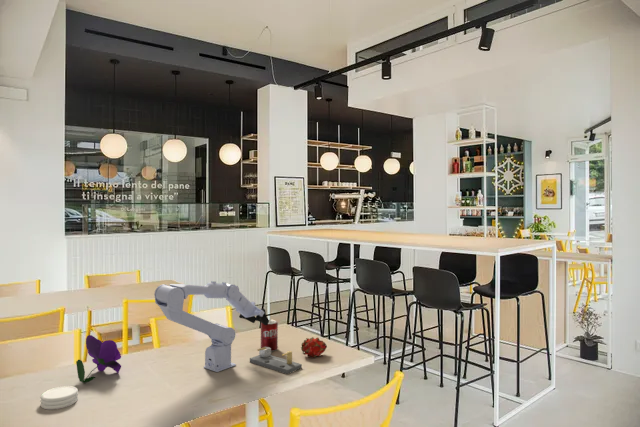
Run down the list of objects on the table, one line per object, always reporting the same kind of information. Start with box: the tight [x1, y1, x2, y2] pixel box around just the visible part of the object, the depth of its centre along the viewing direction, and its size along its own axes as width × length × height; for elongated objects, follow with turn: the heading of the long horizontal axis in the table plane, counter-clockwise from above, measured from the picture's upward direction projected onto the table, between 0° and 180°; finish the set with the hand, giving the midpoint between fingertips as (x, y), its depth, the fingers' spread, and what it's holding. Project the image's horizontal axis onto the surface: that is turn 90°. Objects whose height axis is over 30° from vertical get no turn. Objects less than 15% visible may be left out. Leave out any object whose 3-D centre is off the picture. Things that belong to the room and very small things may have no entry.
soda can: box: [260, 319, 279, 353], centre depth 189 cm, size 7×7×12 cm
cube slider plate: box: [249, 350, 303, 375], centre depth 171 cm, size 8×20×6 cm, turn 52°
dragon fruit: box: [300, 336, 328, 358], centre depth 182 cm, size 8×8×12 cm
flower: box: [75, 334, 122, 384], centre depth 155 cm, size 15×15×14 cm
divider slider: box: [257, 347, 272, 358], centre depth 175 cm, size 6×3×4 cm, turn 142°
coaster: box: [39, 385, 79, 411], centre depth 136 cm, size 10×10×4 cm
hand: (261, 322), depth 184 cm, fingers open, 7 cm apart
